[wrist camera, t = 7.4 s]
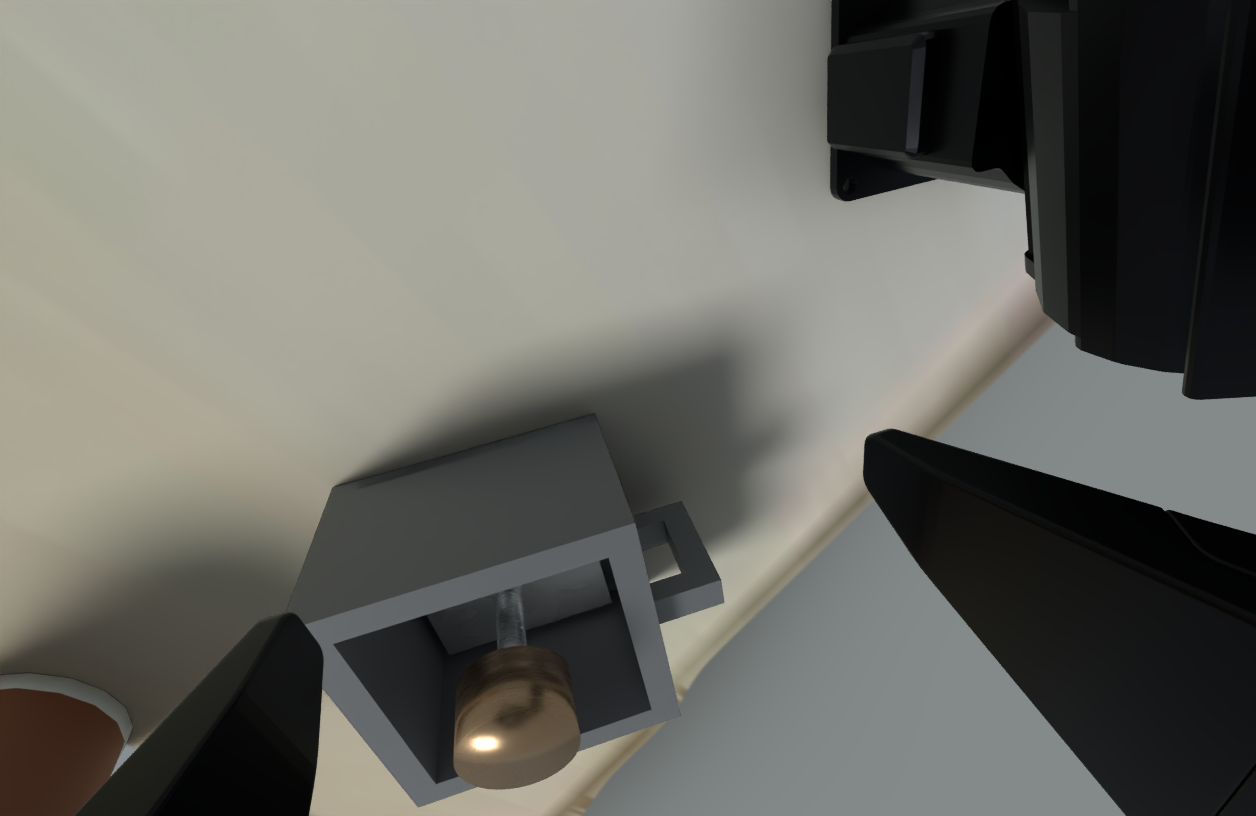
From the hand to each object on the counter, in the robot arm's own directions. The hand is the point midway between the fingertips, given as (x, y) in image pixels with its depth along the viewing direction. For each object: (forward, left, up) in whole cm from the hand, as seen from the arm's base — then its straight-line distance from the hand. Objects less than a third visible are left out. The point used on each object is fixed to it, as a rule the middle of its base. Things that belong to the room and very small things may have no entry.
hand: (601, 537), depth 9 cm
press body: (+3, +10, -12) cm, 16 cm away
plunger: (+4, +10, -11) cm, 15 cm away
